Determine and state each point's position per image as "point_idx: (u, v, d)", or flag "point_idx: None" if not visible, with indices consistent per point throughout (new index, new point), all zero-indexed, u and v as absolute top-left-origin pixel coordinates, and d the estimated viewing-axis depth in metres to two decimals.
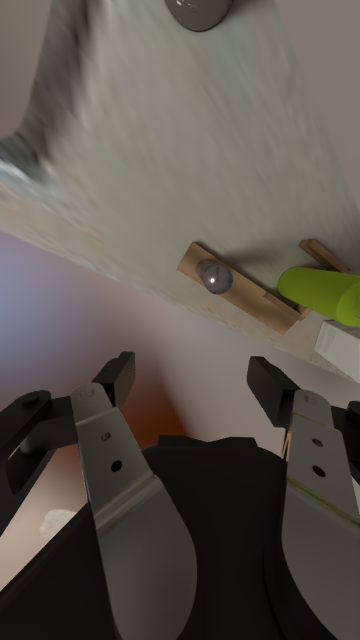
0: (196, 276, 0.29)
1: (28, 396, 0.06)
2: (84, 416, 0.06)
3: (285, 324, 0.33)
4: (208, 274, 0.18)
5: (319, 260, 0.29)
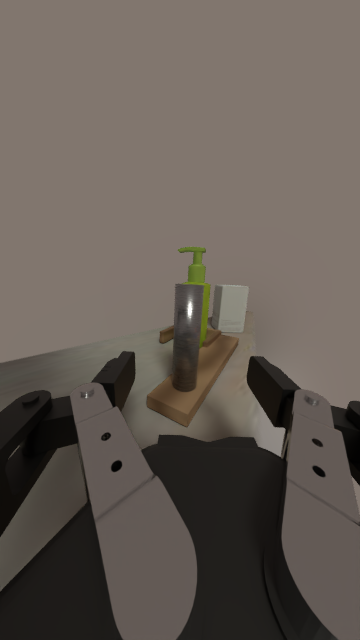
0: (196, 391, 0.19)
1: (28, 396, 0.06)
2: (84, 416, 0.06)
3: (228, 338, 0.37)
4: (184, 284, 0.16)
5: None
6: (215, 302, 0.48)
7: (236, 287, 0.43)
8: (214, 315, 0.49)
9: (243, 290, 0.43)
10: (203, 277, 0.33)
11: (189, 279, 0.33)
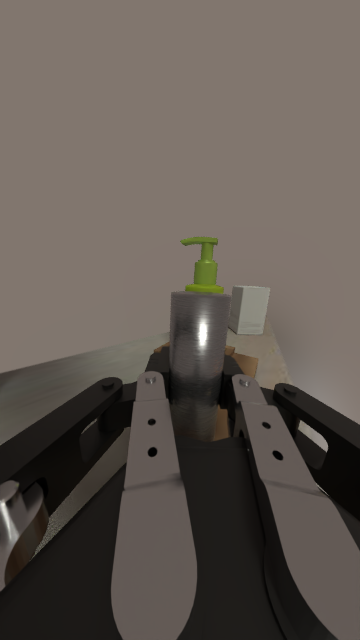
0: None
1: (107, 380, 0.07)
2: (159, 397, 0.07)
3: (244, 358, 0.28)
4: (189, 296, 0.07)
5: None
6: (233, 303, 0.47)
7: (257, 288, 0.42)
8: (232, 317, 0.48)
9: (264, 291, 0.42)
10: (214, 278, 0.25)
11: (195, 280, 0.25)
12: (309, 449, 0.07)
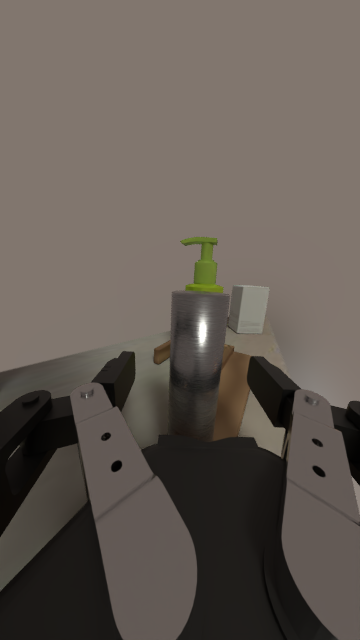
0: None
1: (28, 396, 0.06)
2: (84, 416, 0.06)
3: (244, 357, 0.28)
4: (189, 295, 0.08)
5: None
6: (233, 303, 0.48)
7: (257, 288, 0.43)
8: (232, 316, 0.48)
9: (263, 290, 0.43)
10: (214, 277, 0.25)
11: (195, 280, 0.25)
12: None
